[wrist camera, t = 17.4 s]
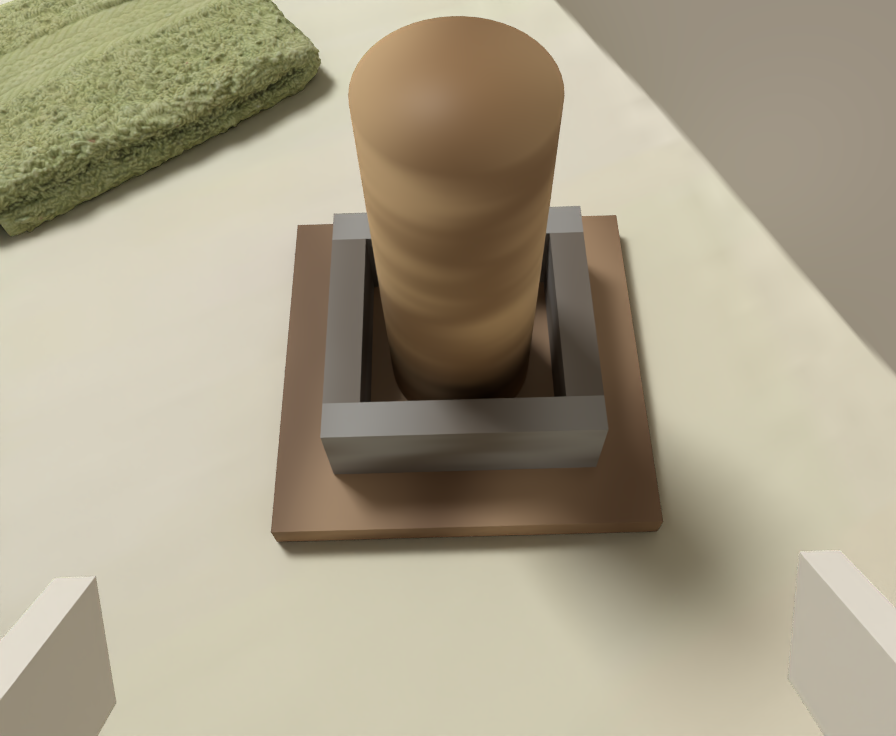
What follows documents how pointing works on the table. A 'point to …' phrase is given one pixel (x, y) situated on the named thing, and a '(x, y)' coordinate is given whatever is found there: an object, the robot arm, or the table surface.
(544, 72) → the oak pin
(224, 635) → the table surface
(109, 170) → the washcloth
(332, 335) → the socket board
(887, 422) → the table surface
